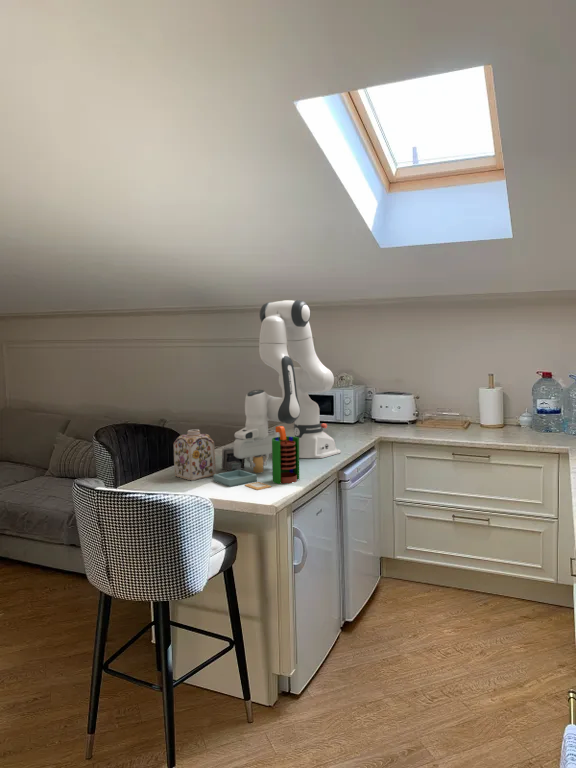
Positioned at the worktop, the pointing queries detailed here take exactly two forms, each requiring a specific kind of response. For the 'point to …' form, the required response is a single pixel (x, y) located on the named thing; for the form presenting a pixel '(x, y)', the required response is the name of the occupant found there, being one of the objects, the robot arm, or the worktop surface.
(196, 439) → the decorative jar
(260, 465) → the orange part
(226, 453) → the electrical switch
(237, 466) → the grey block
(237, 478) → the tray
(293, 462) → the motor
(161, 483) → the worktop surface
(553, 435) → the worktop surface
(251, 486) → the tag
